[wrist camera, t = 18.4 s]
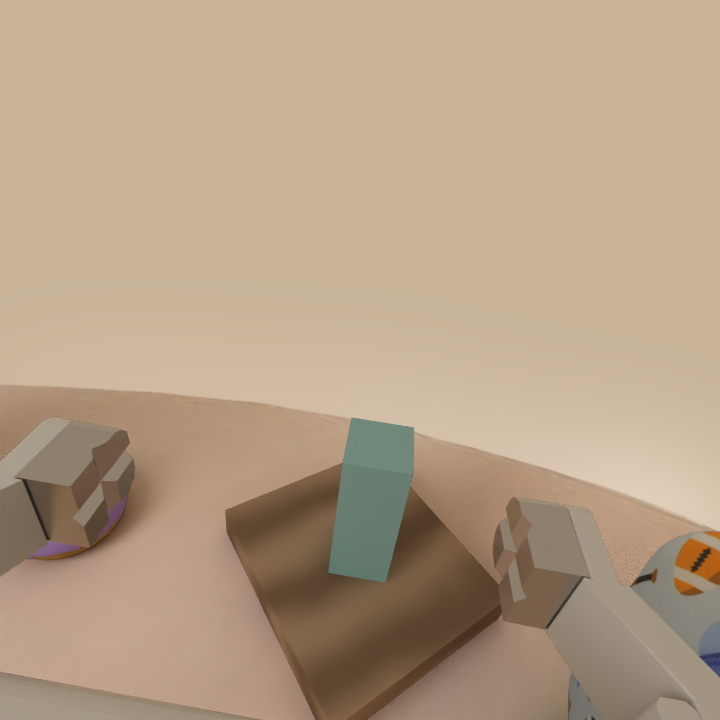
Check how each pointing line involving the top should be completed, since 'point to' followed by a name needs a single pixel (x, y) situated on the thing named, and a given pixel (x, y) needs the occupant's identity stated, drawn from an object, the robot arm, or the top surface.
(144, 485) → the top surface
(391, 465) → the teal block
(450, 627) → the walnut riser
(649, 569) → the lunch box
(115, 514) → the donut
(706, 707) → the robot arm
